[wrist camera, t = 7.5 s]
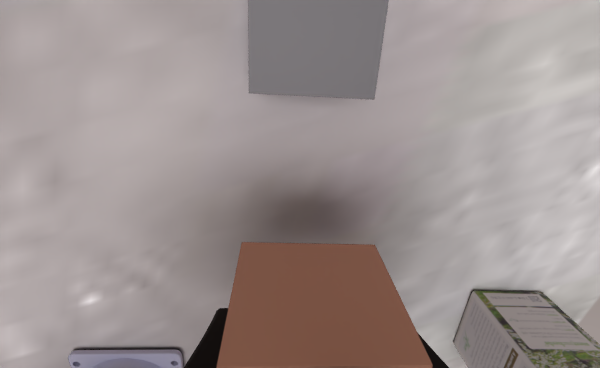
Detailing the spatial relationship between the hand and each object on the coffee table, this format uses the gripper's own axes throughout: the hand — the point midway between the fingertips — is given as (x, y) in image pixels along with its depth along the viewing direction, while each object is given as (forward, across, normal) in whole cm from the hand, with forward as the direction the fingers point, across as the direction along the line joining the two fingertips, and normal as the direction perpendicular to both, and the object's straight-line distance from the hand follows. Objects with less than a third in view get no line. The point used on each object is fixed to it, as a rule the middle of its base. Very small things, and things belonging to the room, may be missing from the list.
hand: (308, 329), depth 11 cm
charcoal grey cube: (+10, 0, -10) cm, 14 cm away
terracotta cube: (+2, 0, 0) cm, 2 cm away
